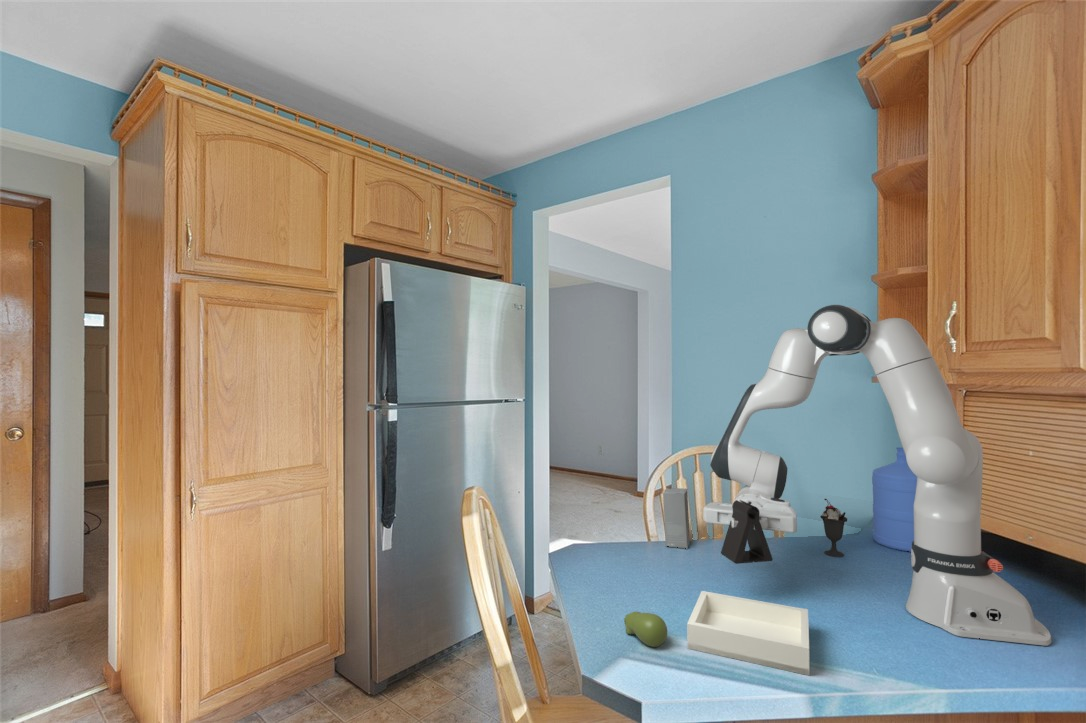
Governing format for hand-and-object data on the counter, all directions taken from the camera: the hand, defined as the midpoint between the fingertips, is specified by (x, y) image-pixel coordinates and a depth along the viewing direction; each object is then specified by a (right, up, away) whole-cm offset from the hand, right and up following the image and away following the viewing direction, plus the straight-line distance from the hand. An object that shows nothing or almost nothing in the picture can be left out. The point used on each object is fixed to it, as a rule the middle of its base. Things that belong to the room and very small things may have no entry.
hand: (746, 525), depth 116 cm
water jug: (+61, -18, +38) cm, 74 cm away
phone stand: (0, -8, +1) cm, 8 cm away
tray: (-6, -17, -16) cm, 24 cm away
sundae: (+36, -17, +30) cm, 50 cm away
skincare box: (-5, -18, +39) cm, 43 cm away
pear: (-25, -17, -15) cm, 34 cm away
